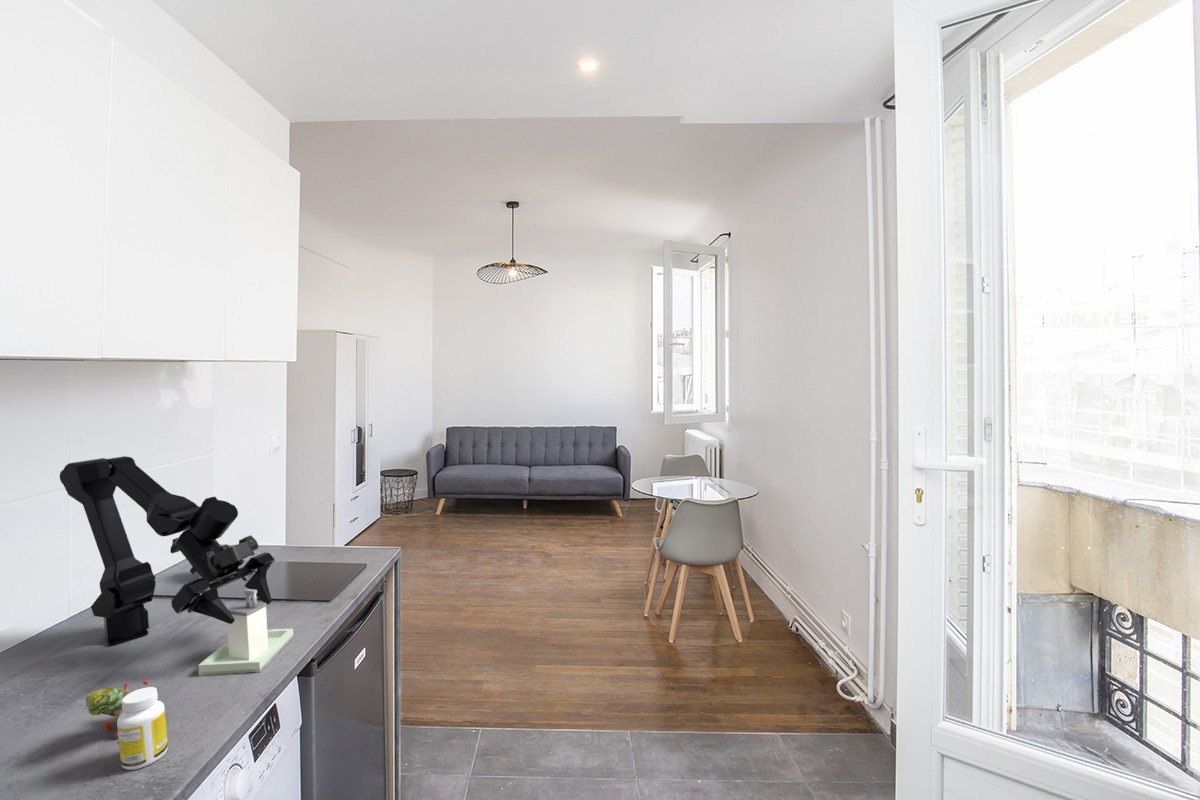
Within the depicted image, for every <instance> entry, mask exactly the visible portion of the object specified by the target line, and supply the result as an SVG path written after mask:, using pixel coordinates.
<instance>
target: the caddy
mask: <svg viewBox="0 0 1200 800" xmlns="http://www.w3.org/2000/svg"><path fill="white" fill-rule="evenodd" d="M243 593H244V594H245V600H244V601H242V602H240V603H238V604H235V605H234V606H232V607H230V608H227V609H228V610H229V611H230V613H231V614H232V616H233V617H234V619H235V621H234V622H233V623H232V624H229V623H226V628H227V630H226V631H227V641H228V647H229V657H234V658H241V659H247V660H250V659H252V658H253V657H255V656H257V655H258V654H260V653H262V652H263V651H265V650H266V649H268V633H267V630H268V619H267V604H266V603H264V602H263V601H258V600H257V598H258V597H257V596H256V593H257V590H254V589H248V588H246V589H245V590H243Z"/></svg>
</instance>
